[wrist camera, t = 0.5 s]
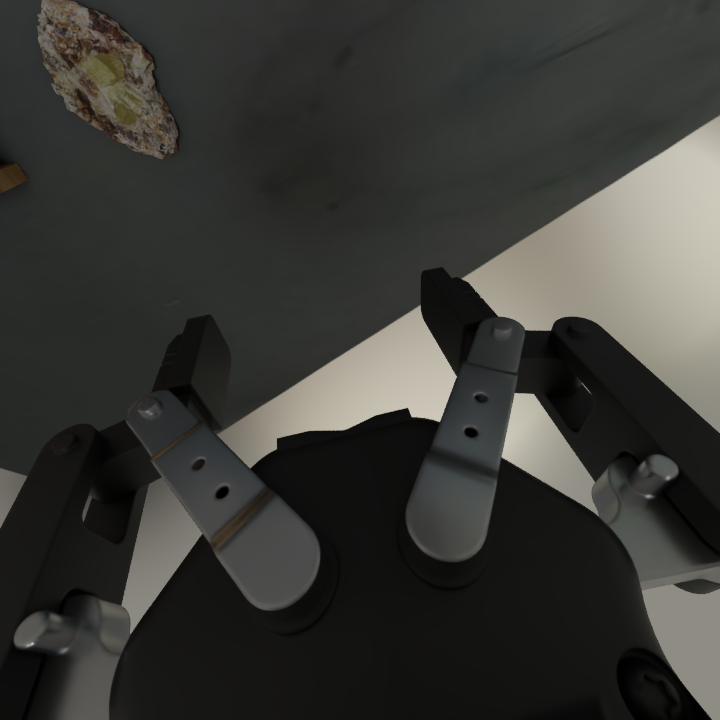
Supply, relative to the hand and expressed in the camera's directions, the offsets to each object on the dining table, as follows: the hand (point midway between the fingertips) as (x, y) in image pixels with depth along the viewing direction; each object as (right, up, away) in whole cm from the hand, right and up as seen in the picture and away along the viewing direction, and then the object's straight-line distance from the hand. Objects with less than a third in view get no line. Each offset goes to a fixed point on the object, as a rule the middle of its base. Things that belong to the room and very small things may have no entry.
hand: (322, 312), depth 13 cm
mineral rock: (-19, +21, +15) cm, 32 cm away
